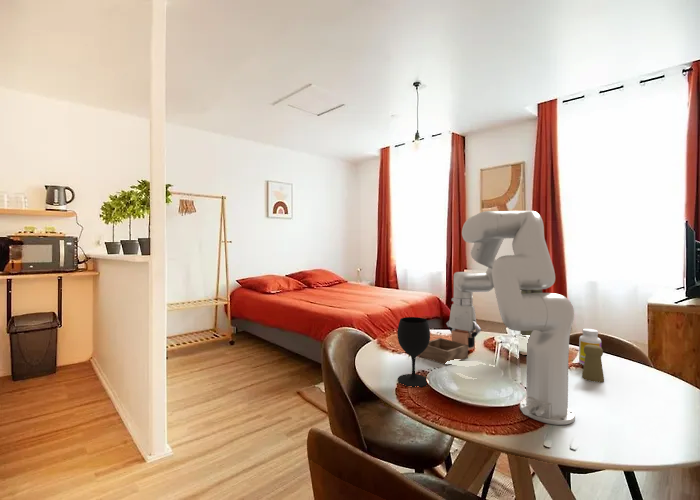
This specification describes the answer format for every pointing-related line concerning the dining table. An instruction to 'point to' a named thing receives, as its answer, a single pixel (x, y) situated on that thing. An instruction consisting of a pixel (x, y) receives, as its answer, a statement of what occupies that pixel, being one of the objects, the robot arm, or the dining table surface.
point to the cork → (593, 364)
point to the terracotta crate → (461, 337)
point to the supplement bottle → (587, 342)
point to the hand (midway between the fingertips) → (463, 344)
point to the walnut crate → (445, 350)
